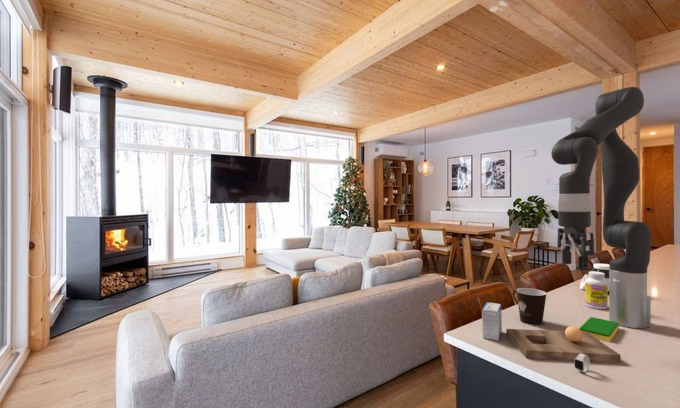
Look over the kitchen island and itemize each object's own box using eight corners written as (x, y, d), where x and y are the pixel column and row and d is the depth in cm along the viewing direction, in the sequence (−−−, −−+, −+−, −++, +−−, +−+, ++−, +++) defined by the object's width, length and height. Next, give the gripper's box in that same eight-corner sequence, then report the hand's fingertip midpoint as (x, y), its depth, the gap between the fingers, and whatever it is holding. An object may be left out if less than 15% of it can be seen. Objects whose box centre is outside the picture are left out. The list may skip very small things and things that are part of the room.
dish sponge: (579, 335, 99) (579, 327, 99) (590, 323, 108) (590, 316, 108) (609, 343, 93) (609, 335, 93) (618, 330, 102) (618, 322, 102)
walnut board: (586, 338, 96) (586, 331, 96) (620, 362, 82) (620, 354, 82) (506, 335, 99) (506, 328, 99) (526, 358, 85) (526, 350, 85)
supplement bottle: (588, 308, 121) (588, 273, 120) (582, 303, 127) (582, 270, 127) (610, 310, 118) (610, 275, 118) (603, 305, 124) (604, 271, 124)
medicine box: (498, 341, 95) (498, 311, 94) (482, 338, 97) (482, 309, 97) (501, 331, 101) (501, 303, 101) (486, 328, 104) (486, 301, 104)
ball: (577, 338, 91) (577, 324, 91) (586, 344, 87) (586, 330, 87) (562, 337, 92) (562, 323, 92) (570, 344, 88) (570, 329, 88)
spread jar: (622, 295, 136) (622, 267, 136) (594, 295, 136) (594, 267, 136) (599, 287, 148) (600, 261, 148) (574, 287, 148) (574, 262, 148)
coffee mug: (551, 327, 104) (551, 296, 104) (521, 325, 106) (521, 294, 106) (536, 314, 116) (536, 286, 115) (510, 313, 117) (510, 285, 117)
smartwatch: (582, 367, 80) (581, 350, 80) (592, 371, 78) (592, 354, 78) (573, 371, 78) (573, 354, 78) (584, 375, 76) (583, 358, 76)
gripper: (605, 210, 85) (605, 273, 85) (575, 208, 99) (575, 262, 99) (573, 211, 86) (573, 272, 87) (548, 208, 100) (548, 261, 101)
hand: (574, 266), depth 93 cm, fingers open, 8 cm apart
